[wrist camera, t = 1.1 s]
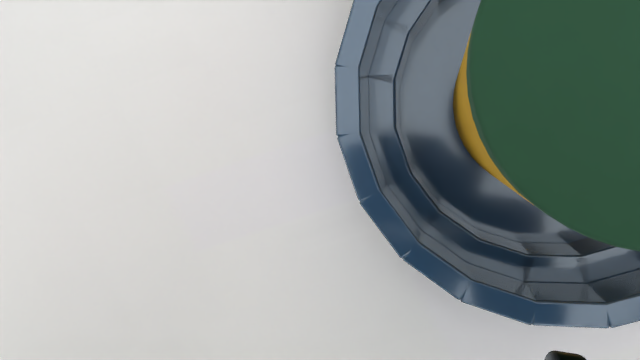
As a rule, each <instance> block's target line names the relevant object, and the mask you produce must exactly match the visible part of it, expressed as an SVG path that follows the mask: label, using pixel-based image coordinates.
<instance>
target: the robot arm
mask: <svg viewBox="0 0 640 360" xmlns="http://www.w3.org/2000/svg"><path fill="white" fill-rule="evenodd" d="M544 360H586V359H585V358H584V357H582V356H581V355H578V354H573V353H566V352H560V351H551V352H549V353H548V354H547V355H546V357H545V359H544Z"/></svg>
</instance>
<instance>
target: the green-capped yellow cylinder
mask: <svg viewBox="0 0 640 360" xmlns="http://www.w3.org/2000/svg"><path fill="white" fill-rule="evenodd" d="M453 112H454V119H455V124H456V128H457V131H458V134H459V136H460V139H461V141H462V143H463V144H464V146H465V148H466V150H467V151H468V152H469V154H470V155H471V157H472V158H473V159H474V160H475V161H476V162H477V163H478V164H479V165H480V166H481V167H482V168H483V169H485V170H486V171H487V172H488V173H490V174H491V175H492V176H494V177H495V178H497V179H498V180H499V181H501V182H502V183H503V184H505V185H506V186H508V187H509V188H510V189H512V190H513V191H515V192H516V193H517V194H519V195H520V196H522V197H523V198H524V199H526V200H527V201H529V202H530V203H531V204H533V205H534V206H536V207H537V208H538V209H540V210H541V211H543V212H544V213H545V214H547V215H548V216H550V217H552V218H553V219H555V220H556V221H558V222H560V223H561V224H563V225H564V226H566V227H567V228H569V229H572V230H574V231H576V232H578V233H580V234H582V235H584V236H587V237H589V238H591V239H594V240H597V241H600V242H603V243H606V244H609V245H612V246H615V247H619V248H624V249H629V250H635V251H640V0H481V2H480V5H479V8H478V11H477V14H476V17H475V20H474V24H473V27H472V30H471V33H470V37H469V40H468V43H467V47H466V50H465V53H464V57H463V60H462V63H461V67H460V70H459V73H458V77H457V80H456V84H455V89H454V96H453Z"/></svg>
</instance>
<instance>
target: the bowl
mask: <svg viewBox="0 0 640 360" xmlns="http://www.w3.org/2000/svg"><path fill="white" fill-rule="evenodd" d="M480 2H481V0H354V1H353V4H352V8H351V11H350V15H349V18H348V22H347V25H346V29H345V32H344V35H343V39H342V42H341V46H340V49H339V53H338V56H337V60H336V63H335V64H336V66H335V101H336V135H337V136H338V138H337V139H338V142H339V145H340V148H341V151H342V154H343V157H344V160H345V163H346V165H347V168H348V171H349V174H350V177H351V180H352V183H353V186H354V189H355V192H356V195H357V197H358V200H359V201H360V204H361V206H362V207H363V208H364V210H365V211H366V212H367V214H368V215H369V216H370V218H371V219H372V220H373V222H374V223H375V224H376V226H377V227H378V228H379V230H380V231H381V233H382V234H383V235H384V237H385V238H386V239H387V241H388V242H389V243H390V245H391V246H392V247H393V249H394V250H395V251H396V253H397V254H398V255H399V257H400V258H402V259H403V260H404V261H405V262H407V263H408V264H409V265H411V266H412V267H413V268H415V269H416V270H418V271H419V272H420V273H422V274H423V275H425V276H426V277H427V278H429V279H430V280H431V281H433V282H434V283H436V284H437V285H438V286H440V287H441V288H443V289H444V290H445V291H447V292H448V293H449V294H451V295H452V296H454V297H455V298H456V299H458V300H460V299H461V302H464V303H466V304H469V305H472V306H475V307H478V308H481V309H484V310H487V311H490V312H493V313H496V314H499V315H502V316H505V317H508V318H510V319H513V320H516V321H519V322H522V323H525V324H528V325H531V324H532V325H536V326H562V327H588V328H609V326H610V327H611V328H614V327H618V326H622V325H625V324H629V323H633V322H637V321H640V251H635V250H629V249H624V248H619V247H615V246H612V245H609V244H606V243H603V242H600V241H597V240H594V239H591V238H589V237H587V236H584V235H582V234H580V233H578V232H576V231H574V230H572V229H569V228H567V227H566V226H564V225H563V224H561V223H560V222H558V221H556V220H555V219H553V218H552V217H550V216H548V215H547V214H545V213H544V212H543V211H541V210H540V209H538V208H537V207H536V206H534V205H533V204H531V203H530V202H529V201H527V200H526V199H524V198H523V197H522V196H520V195H519V194H517V193H516V192H515V191H513V190H512V189H510V188H509V187H508V186H506V185H505V184H503V183H502V182H501V181H499V180H498V179H497V178H495V177H494V176H492V175H491V174H490V173H488V172H487V171H486V170H485V169H483V168H482V167H481V166H480V165H479V164H478V163H477V162H476V161H475V160H474V159H473V158H472V157H471V155H470V154H469V152H468V151H467V150H466V148H465V146H464V144H463V143H462V141H461V139H460V136H459V134H458V131H457V128H456V124H455V119H454V112H453V96H454V89H455V84H456V80H457V77H458V73H459V70H460V67H461V63H462V60H463V57H464V53H465V50H466V47H467V43H468V40H469V37H470V33H471V30H472V27H473V24H474V20H475V17H476V14H477V11H478V8H479V5H480Z"/></svg>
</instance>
